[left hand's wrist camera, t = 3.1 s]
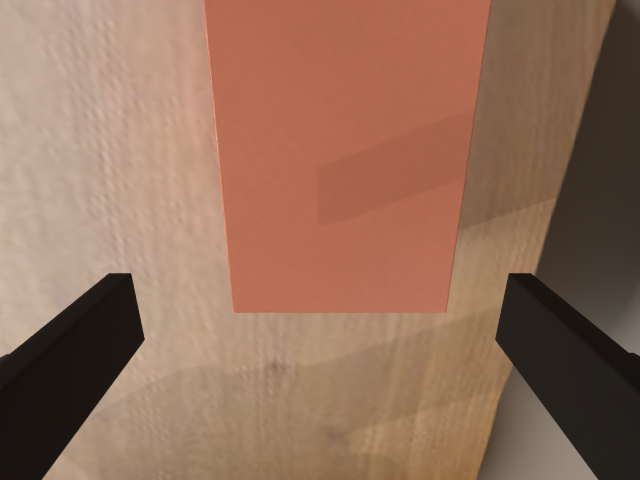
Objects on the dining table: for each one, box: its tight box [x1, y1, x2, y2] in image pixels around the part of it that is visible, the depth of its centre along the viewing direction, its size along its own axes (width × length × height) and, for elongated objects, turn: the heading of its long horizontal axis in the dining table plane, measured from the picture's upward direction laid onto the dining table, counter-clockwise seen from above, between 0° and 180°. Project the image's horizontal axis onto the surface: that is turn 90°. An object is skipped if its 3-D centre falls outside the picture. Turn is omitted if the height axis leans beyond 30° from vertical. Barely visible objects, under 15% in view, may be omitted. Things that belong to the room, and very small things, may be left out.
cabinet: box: [203, 0, 491, 313], centre depth 20 cm, size 17×11×9 cm, turn 0°
